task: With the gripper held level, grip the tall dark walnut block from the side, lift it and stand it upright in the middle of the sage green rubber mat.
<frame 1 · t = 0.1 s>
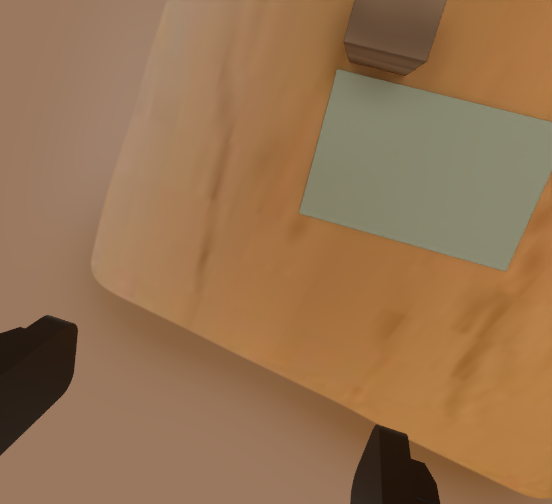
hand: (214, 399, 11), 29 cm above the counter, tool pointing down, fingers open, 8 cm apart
mat: (423, 172, 37), on the counter
walnut block: (386, 37, 34), on the counter
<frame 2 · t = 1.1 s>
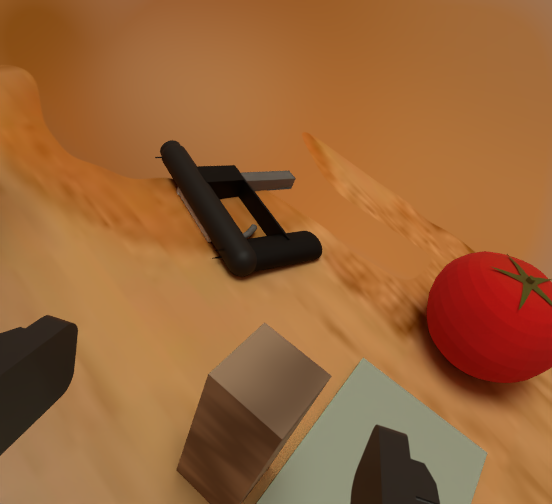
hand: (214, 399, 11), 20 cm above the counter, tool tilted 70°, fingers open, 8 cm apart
mat: (374, 492, 32), on the counter
walnut block: (224, 467, 30), on the counter
tomato: (461, 347, 45), on the counter
door handle: (245, 211, 51), on the counter
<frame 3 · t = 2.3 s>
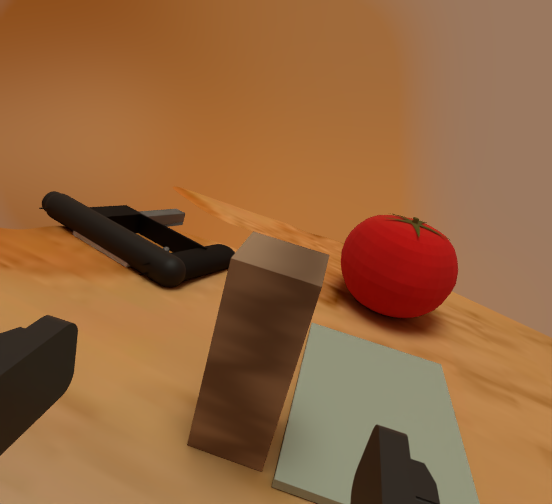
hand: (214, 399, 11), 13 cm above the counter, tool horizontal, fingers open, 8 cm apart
mat: (375, 414, 32), on the counter
walnut block: (234, 430, 27), on the counter
tomato: (380, 306, 50), on the counter
door handle: (148, 244, 51), on the counter
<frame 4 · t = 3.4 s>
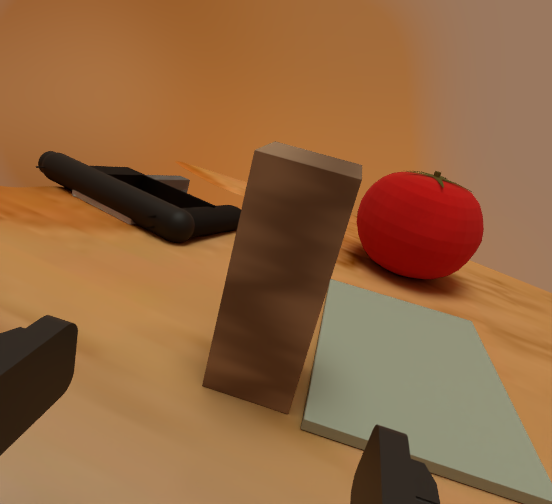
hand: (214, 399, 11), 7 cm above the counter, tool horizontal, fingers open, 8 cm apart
mat: (407, 364, 29), on the counter
walnut block: (254, 374, 24), on the counter
tomato: (399, 270, 47), on the counter
door handle: (152, 207, 48), on the counter
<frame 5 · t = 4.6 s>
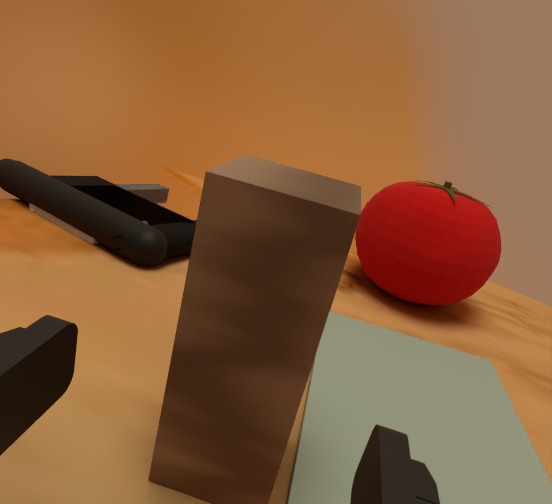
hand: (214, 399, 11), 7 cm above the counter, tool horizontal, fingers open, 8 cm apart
mat: (417, 426, 23), on the counter
walnut block: (222, 455, 19), on the counter
tomato: (403, 293, 41), on the counter
door handle: (124, 222, 42), on the counter
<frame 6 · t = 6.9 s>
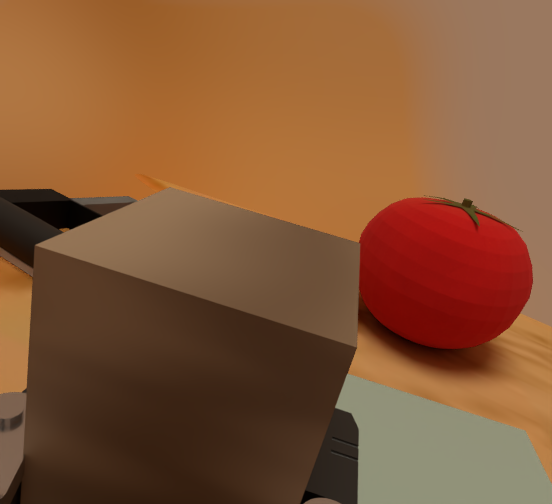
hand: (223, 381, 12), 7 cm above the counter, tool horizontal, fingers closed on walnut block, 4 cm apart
tomato: (412, 330, 35), on the counter
door handle: (83, 243, 36), on the counter
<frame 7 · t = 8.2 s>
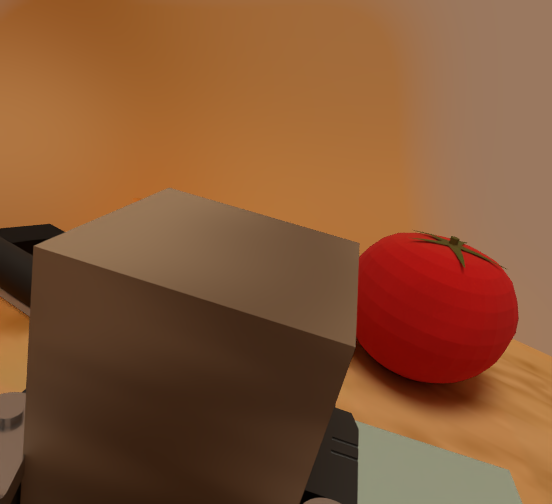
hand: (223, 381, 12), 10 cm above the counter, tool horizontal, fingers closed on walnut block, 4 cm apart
tomato: (402, 361, 35), on the counter
door handle: (81, 277, 37), on the counter
when the fingers open (8 cm above the counter, at t = 13.0 s): walnut block stays where it is, resting on mat.
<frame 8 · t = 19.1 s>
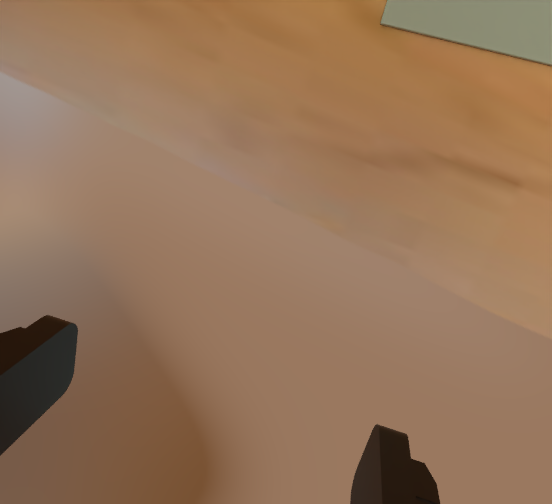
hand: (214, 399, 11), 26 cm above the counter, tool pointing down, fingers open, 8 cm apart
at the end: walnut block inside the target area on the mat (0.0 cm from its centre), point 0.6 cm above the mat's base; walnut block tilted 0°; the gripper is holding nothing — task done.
